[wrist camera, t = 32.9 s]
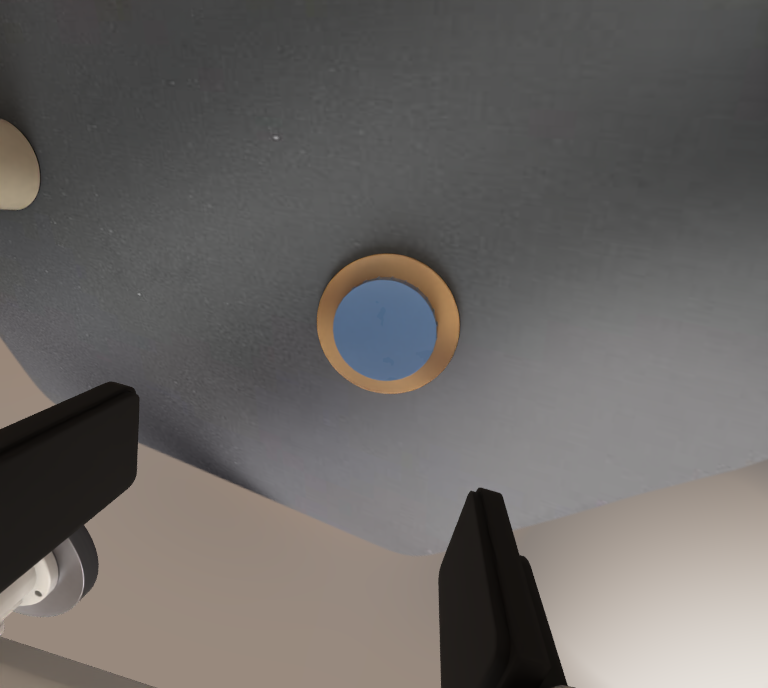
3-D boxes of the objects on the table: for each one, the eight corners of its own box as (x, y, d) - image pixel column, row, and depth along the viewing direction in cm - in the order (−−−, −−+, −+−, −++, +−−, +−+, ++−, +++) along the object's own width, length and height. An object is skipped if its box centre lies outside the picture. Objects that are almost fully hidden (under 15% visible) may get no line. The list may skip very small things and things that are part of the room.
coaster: (436, 406, 27) (436, 410, 26) (308, 370, 27) (305, 372, 27) (478, 274, 24) (479, 275, 23) (333, 236, 24) (331, 236, 24)
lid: (421, 385, 26) (420, 394, 24) (328, 358, 26) (322, 365, 25) (450, 292, 24) (451, 295, 22) (349, 264, 24) (344, 265, 23)
